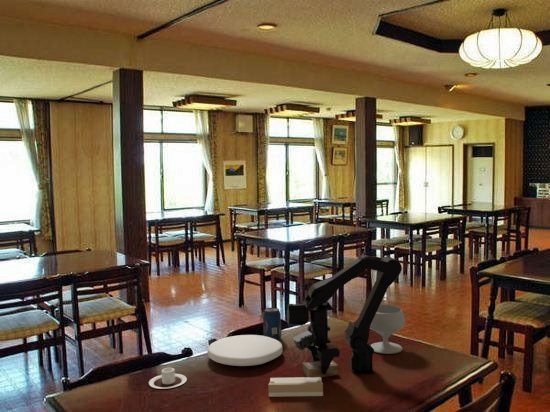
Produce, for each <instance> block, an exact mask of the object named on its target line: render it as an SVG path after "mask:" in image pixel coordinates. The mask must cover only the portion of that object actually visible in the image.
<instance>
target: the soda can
mask: <svg viewBox="0 0 550 412" xmlns="http://www.w3.org/2000/svg"><path fill="white" fill-rule="evenodd" d="M281 315H282V314H281V311H280V309H279V308H277V307H267V308H266V307H265V308H264V311H263V313H262V323H263V325H262V326H263V336H266V337H270V338H273V339H276V340H277V341H280V340H281V338H282V319H281V318H282V317H281Z"/></svg>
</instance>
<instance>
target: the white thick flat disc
mask: <svg viewBox="0 0 550 412" xmlns="http://www.w3.org/2000/svg"><path fill="white" fill-rule="evenodd" d="M282 353H283V344H282V342H281V341H280V340H278V341H277V340H276V339H273V338H270V337H266V336H264V335H259V334H240V335H233V336H232V335H231V336H227V337H223V338H220V339H216V341H214V342H212V343H210V344H209V345H208V347H207V355H208V356H207V357H208V358H209V359H211V360H212V361H213V362H216V363H219V364H221V365H228V366H237V367H247V366H248V367H249V366H252V367H253V366H258V365H263V364H265V363H268V362H270V361H272V360H275V359H276V358H278V357H279V356H281V355H282Z"/></svg>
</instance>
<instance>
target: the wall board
mask: <svg viewBox="0 0 550 412" xmlns="http://www.w3.org/2000/svg"><path fill="white" fill-rule="evenodd" d="M269 379H270V380H269V383H268V385H267V386H268V397H271V398H272V397H276V398H277V397H278V398H279V397H323V396H324V384H323V383H324V382H322V381H323V380H322V377H307V376H306V377H301V376H300V377H270V378H269Z"/></svg>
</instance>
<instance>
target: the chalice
mask: <svg viewBox="0 0 550 412" xmlns="http://www.w3.org/2000/svg"><path fill="white" fill-rule="evenodd" d="M405 324H406V318H405V314H404V311H403V310H402V308H401V307H400V306H396V305H392V304H380V306H379V308H378V310H377V312H376V315H375V317H374V319H373V321H372V323H371V325H370V330H371V331H374V332H376V333H377V334H379V335H380V336H381V338H382V341H379V342H374V343H372V344H370V345H371V347H372V348H373V349H374V353H378V354H383V355H387V354H388V355H391V354H397V353H401V352H402V351H403V349H404V348H403V347H402V346H401V344H398V343H395V342H391V341H389V337H390V336H391V335H394V334H395V333H397V332H399V331H401V330H402V329H403V328H404V326H405Z"/></svg>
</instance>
